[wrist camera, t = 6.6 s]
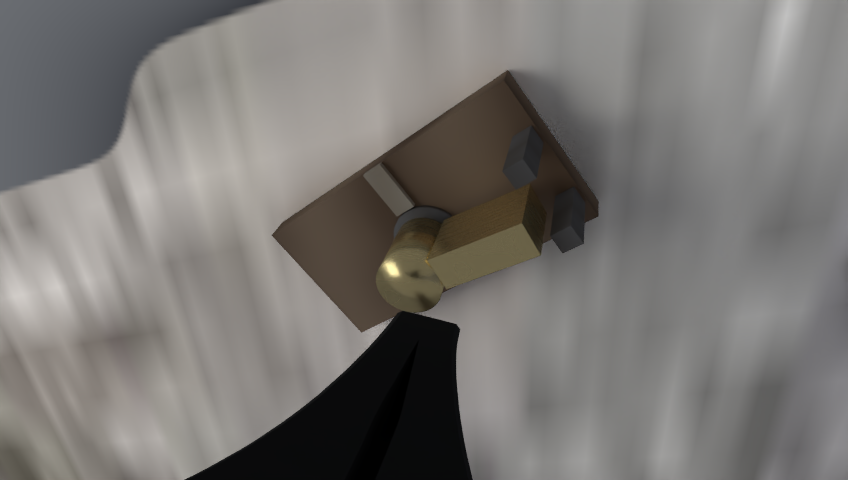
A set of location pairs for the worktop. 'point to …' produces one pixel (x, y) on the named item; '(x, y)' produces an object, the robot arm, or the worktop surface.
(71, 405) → the worktop surface
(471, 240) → the bar
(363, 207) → the plate
